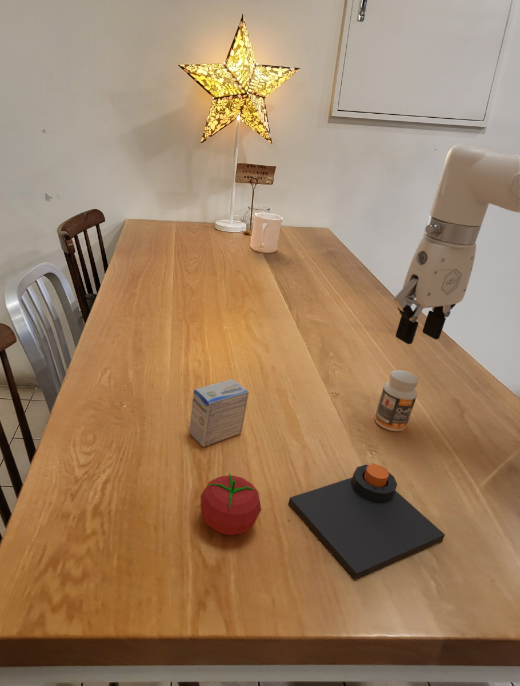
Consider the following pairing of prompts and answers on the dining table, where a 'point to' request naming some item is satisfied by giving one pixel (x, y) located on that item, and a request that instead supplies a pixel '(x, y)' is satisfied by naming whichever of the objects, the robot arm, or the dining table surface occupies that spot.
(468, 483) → the dining table surface
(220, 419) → the medicine box
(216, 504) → the tomato
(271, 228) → the mug
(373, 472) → the tare button
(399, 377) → the pill bottle
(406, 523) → the scale
